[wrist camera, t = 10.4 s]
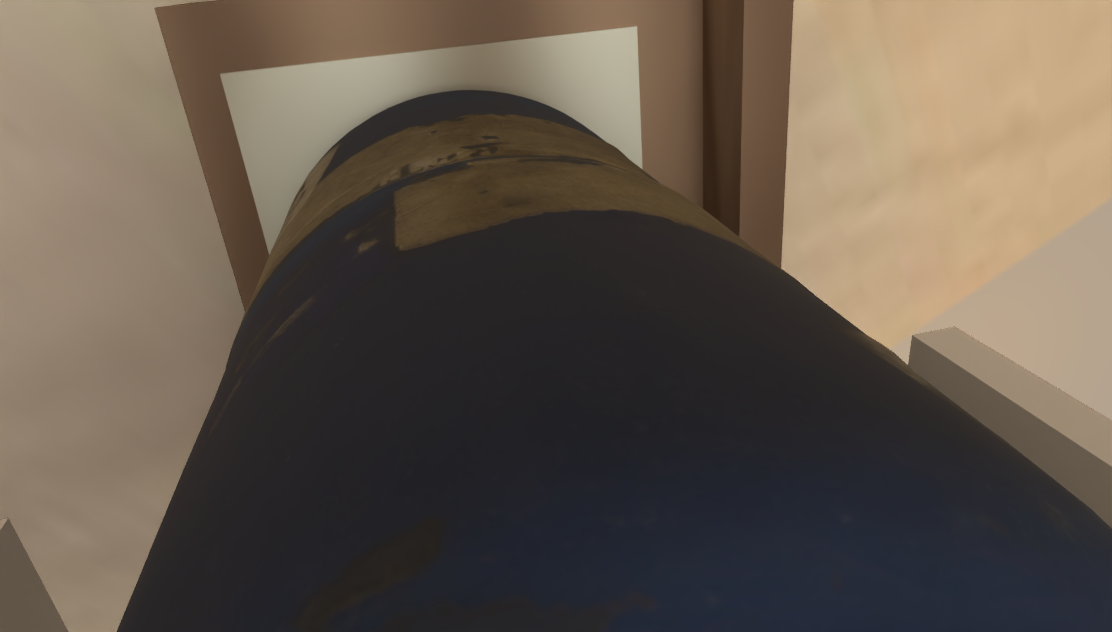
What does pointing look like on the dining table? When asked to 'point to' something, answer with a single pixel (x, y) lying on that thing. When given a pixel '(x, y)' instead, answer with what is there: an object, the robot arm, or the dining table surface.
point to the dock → (491, 65)
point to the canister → (581, 423)
